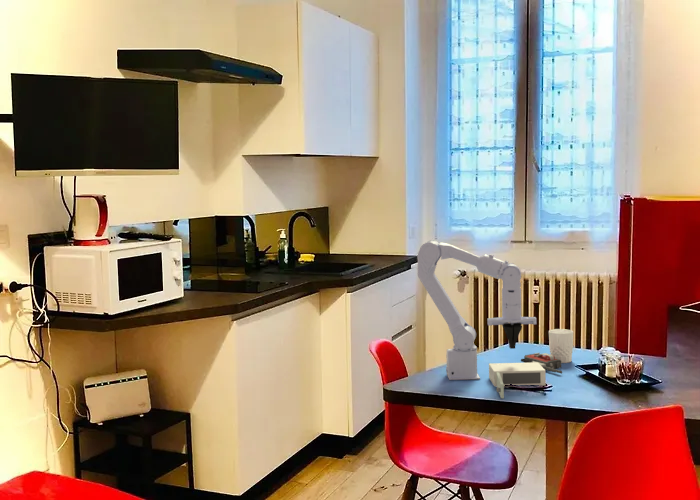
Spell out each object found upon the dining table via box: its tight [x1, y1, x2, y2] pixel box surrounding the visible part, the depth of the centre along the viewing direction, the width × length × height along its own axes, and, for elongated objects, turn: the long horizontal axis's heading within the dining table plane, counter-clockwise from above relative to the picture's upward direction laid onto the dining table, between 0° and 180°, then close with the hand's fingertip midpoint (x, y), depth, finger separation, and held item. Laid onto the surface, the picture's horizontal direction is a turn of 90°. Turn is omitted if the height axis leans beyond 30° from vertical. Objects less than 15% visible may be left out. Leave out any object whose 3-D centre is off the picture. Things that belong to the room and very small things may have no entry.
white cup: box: [548, 328, 574, 364], centre depth 253 cm, size 8×8×10 cm
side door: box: [496, 373, 505, 399], centre depth 217 cm, size 13×2×4 cm, turn 174°
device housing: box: [488, 362, 547, 387], centre depth 229 cm, size 15×10×4 cm
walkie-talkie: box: [520, 352, 563, 374], centre depth 244 cm, size 9×4×20 cm
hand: (512, 347), depth 232 cm, fingers closed
